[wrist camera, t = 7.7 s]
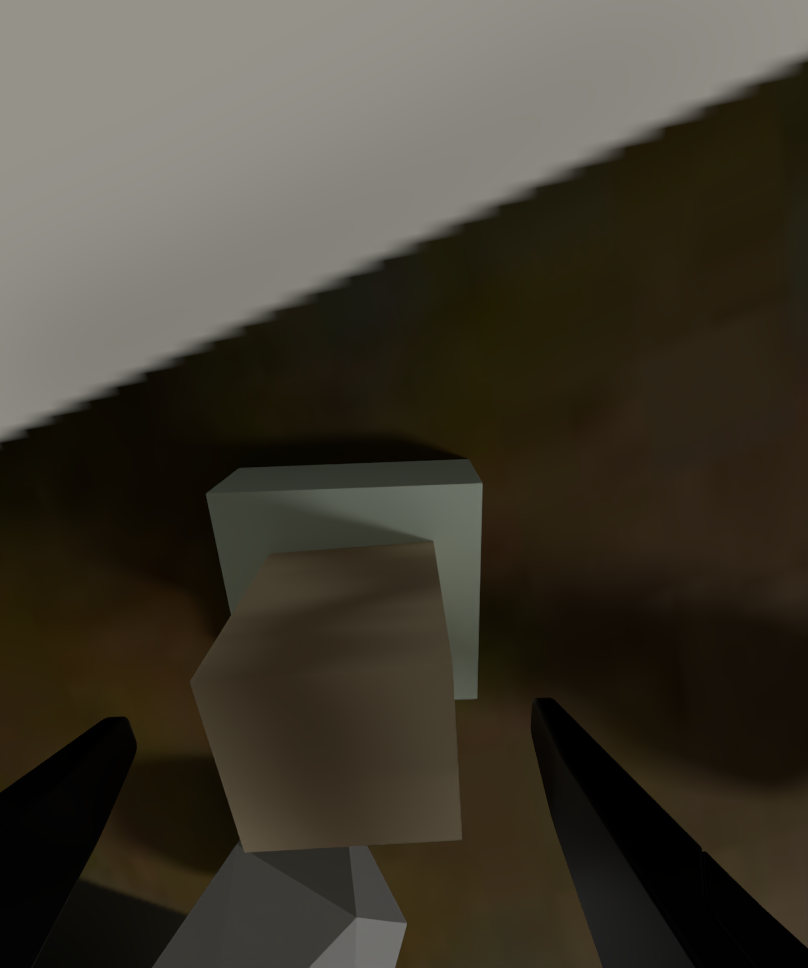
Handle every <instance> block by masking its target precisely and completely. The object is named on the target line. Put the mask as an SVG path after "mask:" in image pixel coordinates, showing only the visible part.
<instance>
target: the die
mask: <svg viewBox="0 0 808 968" xmlns="http://www.w3.org/2000/svg"><path fill="white" fill-rule="evenodd" d="M406 926H407V923H406V921H405V919H404V917H403V915H402V913H401V911H400V909H399V907H398V905H397V903H396V901H395V899H394V897H393V895H392V893H391V891H390V889H389V888H388V886H387V884H386V882H385V880H384V878H383V876H382V874H381V872H380V870H379V868H378V866H377V864H376V862H375V860H374V858H373V856H372V854H371V852H370V851H369V849H368V847H367V845H366V846H348V847H331V848H314V849H297V850H280V851H263V852H246V853H244V850H243V846H242V843H241V840H239V841H238V843H237V844H236V846H235V847H234V849H233V850H232V852H231V853H230V855H229V856H228V857H227V859H226V860H225V862H224V863H223V865H222V866H221V868H220V869H219V871H218V872H217V874H216V875H215V877H214V878H213V879H212V881H211V882H210V884H209V885H208V887H207V888H206V890H205V891H204V893H203V894H202V896H201V897H200V899H199V900H198V901H197V903H196V904H195V906H194V907H193V909H192V910H191V912H190V913H189V915H188V916H187V918H186V919H185V920H184V922H183V924H182V925H181V926H180V928H179V929H178V931H177V932H176V934H175V935H174V937H173V938H172V940H171V941H170V943H169V944H168V945H167V947H166V948H165V950H164V951H163V953H162V954H161V956H160V957H159V959H158V960H157V961H156V963H155V964H154V966H153V967H152V968H395V965H396V961H397V958H398V954H399V951H400V947H401V944H402V940H403V936H404V933H405V929H406Z"/></svg>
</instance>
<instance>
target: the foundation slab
mask: <svg viewBox="0 0 808 968" xmlns="http://www.w3.org/2000/svg"><path fill="white" fill-rule="evenodd" d="M206 497H207V502H208V507H209V512H210V517H211V521H212V526H213V531H214V536H215V541H216V545H217V550H218V555H219V560H220V565H221V569H222V574H223V579H224V584H225V589H226V593H227V598H228V603H229V608H230V613H231V615H232V613H233V612H234V610H235V608H236V607H237V605H238V604H239V602H240V600H241V599H242V597H243V596H244V594H245V592H246V591H247V589H248V588H249V586H250V584H251V583H252V581H253V580H254V578H255V576H256V575H257V573H258V572H259V570H260V568H261V567H262V565H263V564H264V562H265V560H266V559H267V557H268V556H269V554H271V553H284V552H298V551H311V550H324V549H337V548H351V547H364V546H377V545H390V544H404V543H417V542H430V541H434V548H435V554H436V561H437V567H438V573H439V580H440V586H441V593H442V599H443V605H444V612H445V618H446V625H447V631H448V638H449V644H450V650H451V657H452V663H453V681H454V699H455V700H457V699H477V685H478V644H479V603H480V562H481V522H482V482H481V480H480V478H479V476H478V475H477V473H476V471H475V469H474V468H473V466H472V464H471V462H470V461H469V459H459V460H433V461H407V462H381V463H355V464H329V465H303V466H278V467H252V468H239V469H237V470H236V471H235V472H233V473H232V474H231V475H229V476H228V477H227V478H226V479H224V480H223V481H222V482H220V483H219V484H218V485H216V486H215V487H214V488H213V489H211V490H210V491H209V492H207V493H206Z"/></svg>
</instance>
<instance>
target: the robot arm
mask: <svg viewBox="0 0 808 968" xmlns="http://www.w3.org/2000/svg"><path fill="white" fill-rule="evenodd" d="M531 734H532V739H533V743H534V748H535V752H536V756H537V760H538V764H539V768H540V773H541V777H542V781H543V785H544V789H545V793H546V797H547V802H548V806H549V809H550V813H551V817H552V820H553V823H554V827H555V830H556V833H557V836H558V839H559V842H560V844H561V847H562V850H563V853H564V856H565V859H566V862H567V865H568V868H569V871H570V874H571V876H572V879H573V882H574V885H575V888H576V891H577V894H578V897H579V900H580V903H581V906H582V908H583V911H584V914H585V917H586V920H587V923H588V926H589V929H590V932H591V935H592V938H593V940H594V943H595V946H596V949H597V952H598V955H599V958H600V961H601V964H602V967H603V968H808V948H807V947H806V946H805V945H803V944H802V943H801V942H800V941H799V940H798V939H797V938H796V937H795V936H794V935H792V934H791V933H790V932H789V931H788V930H787V929H786V928H785V927H784V926H783V925H782V924H780V923H779V922H778V921H777V920H776V919H775V918H774V917H773V916H772V915H771V914H769V913H768V912H767V911H766V910H765V909H764V908H763V907H762V906H761V905H760V904H759V903H758V902H757V901H756V900H755V899H754V898H752V897H751V896H750V895H749V894H748V893H747V892H746V891H745V890H744V889H743V888H742V887H741V886H740V885H739V884H738V883H737V882H736V881H735V880H734V879H733V878H732V877H731V876H730V875H729V874H728V873H727V872H726V871H725V870H724V869H723V868H722V867H721V866H720V865H719V864H718V863H717V862H716V861H715V860H714V859H713V858H712V857H711V856H710V855H709V854H708V853H707V852H705V851H703V852H702V848H701V846H700V845H699V844H698V843H697V842H696V841H695V840H694V839H693V838H692V837H691V836H690V835H689V834H688V833H687V832H686V831H685V830H684V829H683V828H682V827H681V826H680V825H679V824H678V823H677V822H676V821H675V820H674V819H673V818H672V817H671V816H670V815H669V814H668V813H667V812H666V811H665V810H664V809H663V808H662V807H661V806H660V805H659V804H658V803H657V802H656V801H655V800H654V799H653V798H652V797H651V796H650V795H649V794H648V793H647V792H646V791H645V790H644V789H643V788H642V787H641V786H640V785H639V784H638V783H637V782H636V781H635V780H634V779H633V778H632V777H631V776H630V775H629V774H628V773H627V772H626V771H625V770H624V769H623V768H622V767H621V766H620V765H619V764H618V763H617V762H616V761H615V760H614V759H613V758H612V757H611V756H610V755H609V754H608V753H607V752H606V751H605V750H604V749H603V748H602V747H601V746H600V745H599V744H598V743H597V742H596V741H595V740H594V739H593V738H592V737H591V736H590V735H589V734H588V733H587V732H586V731H585V730H584V729H583V728H582V727H581V726H580V725H579V724H578V723H577V722H576V721H575V720H574V719H573V718H572V717H571V716H570V715H569V714H568V713H567V712H566V711H565V710H564V709H563V708H562V707H561V706H560V705H559V704H558V703H557V702H556V701H555V700H554V699H552V698H535V699H534V700H533V702H532V715H531ZM136 749H137V743H136V739H135V737H134V734H133V731H132V728H131V725H130V722H129V720H128V719H127V718H126V717H108V718H105V719H103V720H102V721H100V722H99V723H97V724H96V725H94V726H93V727H92V728H90V729H89V730H87V731H86V732H85V733H83V734H82V735H80V736H79V737H78V738H76V739H75V740H73V741H72V742H71V743H69V744H68V745H66V746H65V747H64V748H62V749H61V750H59V751H58V752H57V753H55V754H54V755H52V756H51V757H50V758H48V759H47V760H45V761H44V762H43V763H41V764H40V765H38V766H37V767H36V768H34V769H33V770H31V771H30V772H29V773H27V774H26V775H24V776H23V777H22V778H20V779H19V780H17V781H16V782H15V783H13V784H12V785H10V786H9V787H8V788H6V789H5V790H3V791H2V792H1V793H0V968H32V966H33V965H34V963H35V961H36V959H37V957H38V955H39V953H40V951H41V949H42V947H43V945H44V943H45V942H46V940H47V938H48V936H49V934H50V932H51V930H52V928H53V926H54V924H55V922H56V921H57V919H58V917H59V915H60V913H61V911H62V909H63V907H64V905H65V903H66V901H67V899H68V897H69V896H70V894H71V892H72V890H73V888H74V886H75V884H76V882H77V880H78V878H79V877H80V875H81V873H82V871H83V869H84V867H85V865H86V863H87V861H88V859H89V857H90V856H91V854H92V852H93V850H94V848H95V846H96V844H97V842H98V840H99V838H100V836H101V833H102V831H103V829H104V827H105V825H106V823H107V820H108V818H109V816H110V813H111V811H112V808H113V806H114V804H115V801H116V799H117V797H118V794H119V792H120V790H121V787H122V785H123V783H124V780H125V778H126V776H127V773H128V771H129V769H130V766H131V764H132V762H133V759H134V757H135V754H136Z"/></svg>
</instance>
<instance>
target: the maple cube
mask: <svg viewBox="0 0 808 968" xmlns="http://www.w3.org/2000/svg"><path fill="white" fill-rule="evenodd" d="M190 685H191V688H192V691H193V694H194V697H195V700H196V703H197V706H198V710H199V713H200V716H201V719H202V722H203V725H204V728H205V731H206V734H207V738H208V741H209V744H210V747H211V750H212V753H213V756H214V759H215V762H216V766H217V769H218V772H219V775H220V778H221V781H222V784H223V787H224V790H225V794H226V797H227V800H228V803H229V806H230V809H231V812H232V815H233V818H234V822H235V825H236V828H237V831H238V834H239V837H240V840H241V843H242V846H243V850H244V853H246V852H263V851H280V850H297V849H314V848H331V847H348V846H366V845H383V844H400V843H417V842H434V841H451V840H462V829H461V811H460V792H459V773H458V755H457V736H456V718H455V699H454V681H453V663H452V657H451V650H450V644H449V638H448V631H447V625H446V618H445V612H444V605H443V599H442V593H441V586H440V580H439V573H438V567H437V561H436V554H435V548H434V541H430V542H417V543H404V544H390V545H377V546H364V547H351V548H337V549H324V550H311V551H298V552H284V553H271V554H269V556H268V557H267V559H266V560H265V562H264V564H263V565H262V567H261V568H260V570H259V572H258V573H257V575H256V576H255V578H254V580H253V581H252V583H251V584H250V586H249V588H248V589H247V591H246V592H245V594H244V596H243V597H242V599H241V600H240V602H239V604H238V605H237V607H236V608H235V610H234V612H233V613H232V615H231V616H230V618H229V620H228V621H227V623H226V624H225V626H224V628H223V629H222V631H221V632H220V634H219V636H218V637H217V639H216V640H215V642H214V644H213V645H212V647H211V648H210V650H209V652H208V653H207V655H206V656H205V658H204V660H203V661H202V663H201V664H200V666H199V668H198V669H197V671H196V672H195V674H194V676H193V677H192V679H191V680H190Z"/></svg>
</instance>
